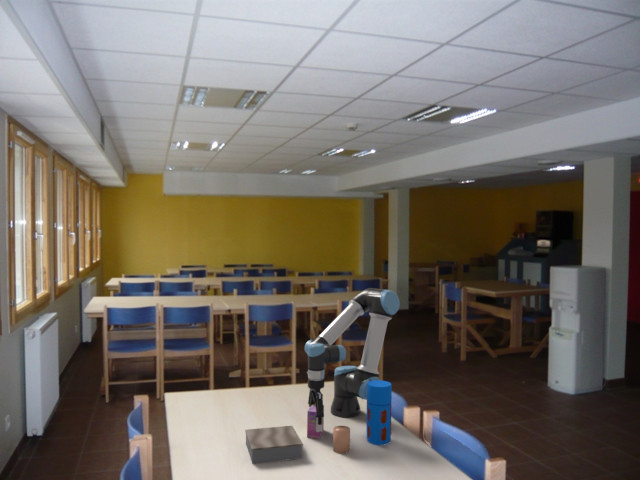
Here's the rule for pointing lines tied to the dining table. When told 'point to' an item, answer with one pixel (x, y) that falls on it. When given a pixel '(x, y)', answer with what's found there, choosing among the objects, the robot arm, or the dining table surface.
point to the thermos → (379, 412)
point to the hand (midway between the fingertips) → (315, 426)
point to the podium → (273, 444)
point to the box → (313, 423)
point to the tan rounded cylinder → (341, 439)
